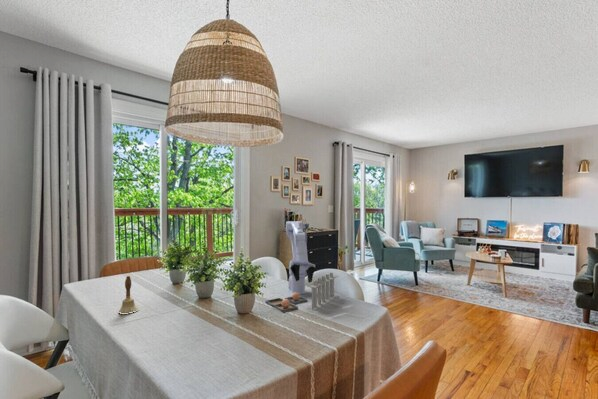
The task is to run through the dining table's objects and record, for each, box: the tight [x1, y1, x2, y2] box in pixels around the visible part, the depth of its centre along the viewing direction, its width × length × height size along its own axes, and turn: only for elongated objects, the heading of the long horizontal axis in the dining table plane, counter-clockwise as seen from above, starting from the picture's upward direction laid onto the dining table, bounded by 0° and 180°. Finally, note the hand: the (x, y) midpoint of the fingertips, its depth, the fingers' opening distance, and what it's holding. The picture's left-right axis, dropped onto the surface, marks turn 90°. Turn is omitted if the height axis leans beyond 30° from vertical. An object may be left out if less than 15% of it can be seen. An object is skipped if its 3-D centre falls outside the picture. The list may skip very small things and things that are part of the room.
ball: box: [281, 298, 290, 308], centre depth 144 cm, size 4×4×4 cm
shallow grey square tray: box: [284, 295, 308, 305], centre depth 155 cm, size 8×8×2 cm
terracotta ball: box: [291, 292, 301, 301], centre depth 155 cm, size 4×4×4 cm
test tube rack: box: [307, 272, 339, 311], centre depth 153 cm, size 25×4×13 cm, turn 149°
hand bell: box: [118, 275, 139, 313], centre depth 141 cm, size 8×8×16 cm
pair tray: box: [265, 297, 299, 313], centre depth 147 cm, size 16×8×2 cm, turn 35°
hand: (304, 281), depth 152 cm, fingers open, 7 cm apart
